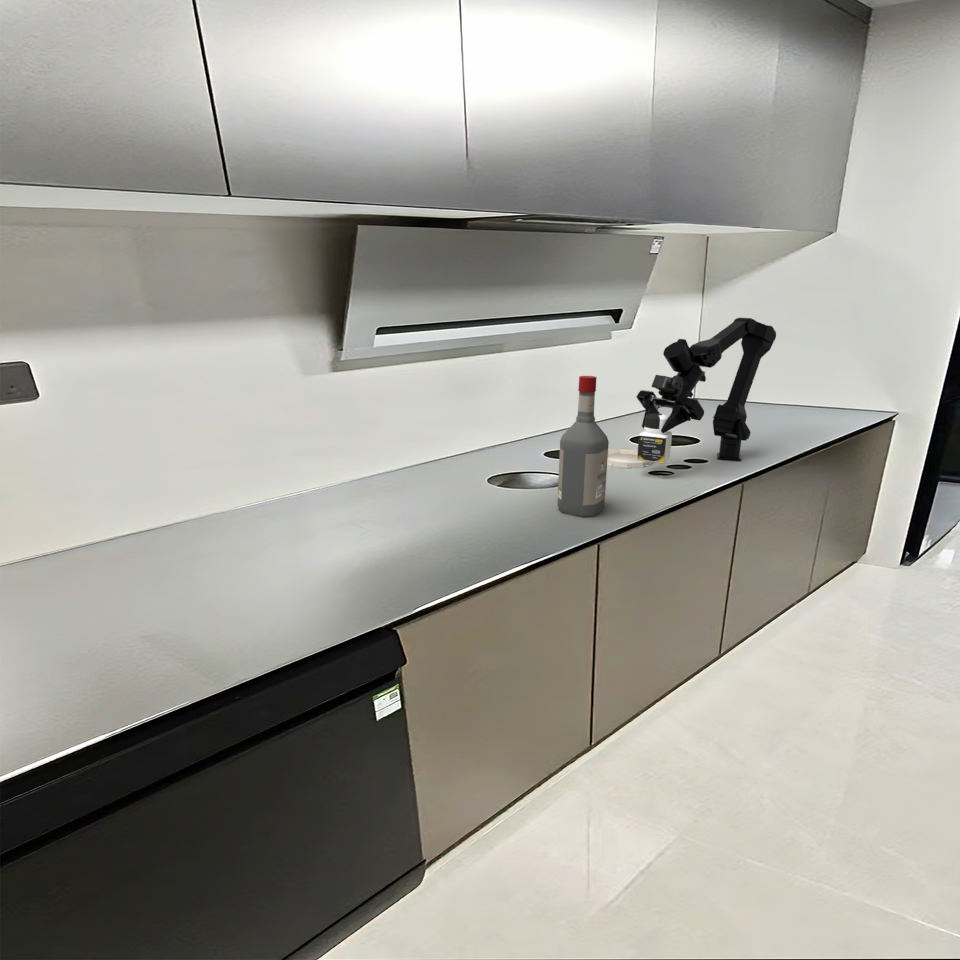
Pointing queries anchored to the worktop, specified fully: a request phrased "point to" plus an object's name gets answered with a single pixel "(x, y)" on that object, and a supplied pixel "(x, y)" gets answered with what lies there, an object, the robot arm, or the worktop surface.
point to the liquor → (583, 459)
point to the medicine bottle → (654, 440)
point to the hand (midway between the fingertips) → (652, 429)
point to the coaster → (625, 458)
